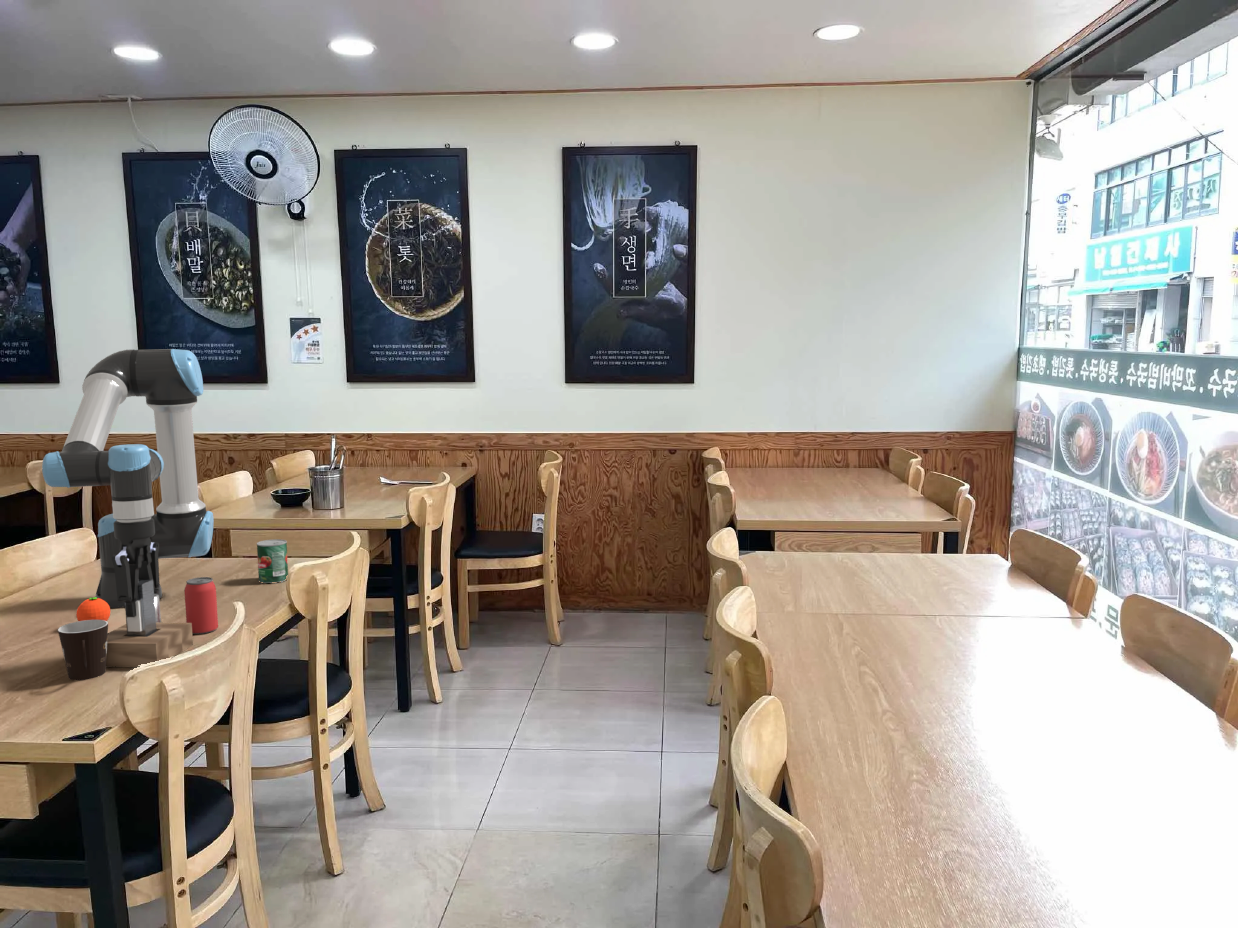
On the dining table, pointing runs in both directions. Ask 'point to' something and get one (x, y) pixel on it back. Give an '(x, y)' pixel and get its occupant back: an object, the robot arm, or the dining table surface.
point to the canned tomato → (272, 560)
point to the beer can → (201, 605)
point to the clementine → (93, 610)
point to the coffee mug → (84, 648)
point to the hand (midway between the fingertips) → (141, 627)
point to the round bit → (157, 608)
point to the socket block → (147, 644)
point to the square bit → (145, 609)
